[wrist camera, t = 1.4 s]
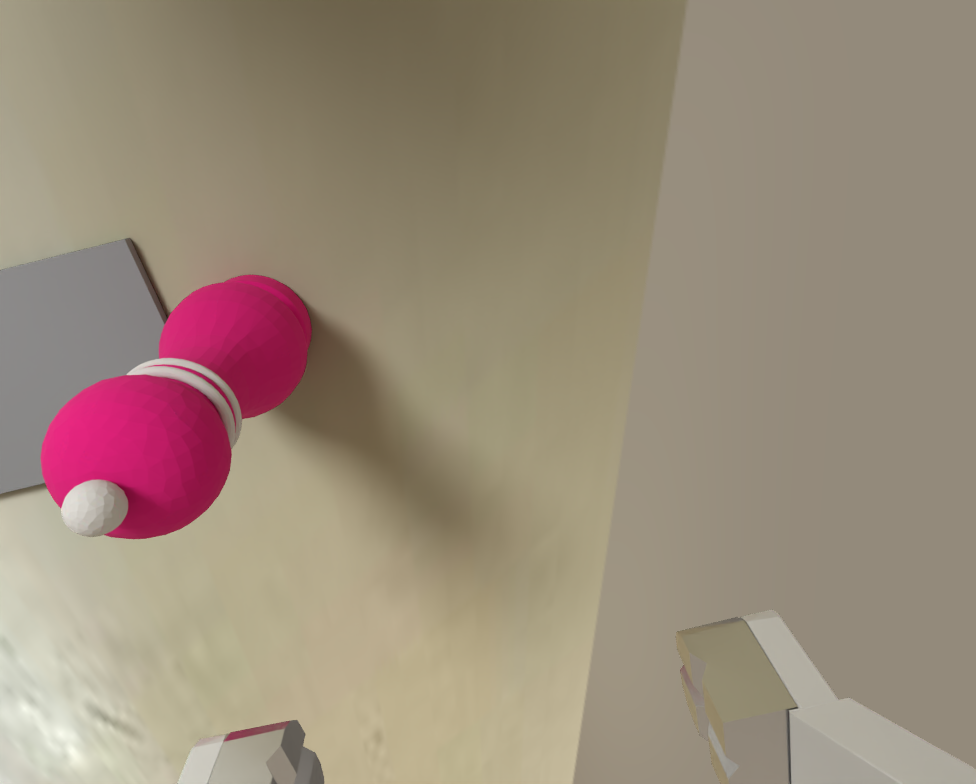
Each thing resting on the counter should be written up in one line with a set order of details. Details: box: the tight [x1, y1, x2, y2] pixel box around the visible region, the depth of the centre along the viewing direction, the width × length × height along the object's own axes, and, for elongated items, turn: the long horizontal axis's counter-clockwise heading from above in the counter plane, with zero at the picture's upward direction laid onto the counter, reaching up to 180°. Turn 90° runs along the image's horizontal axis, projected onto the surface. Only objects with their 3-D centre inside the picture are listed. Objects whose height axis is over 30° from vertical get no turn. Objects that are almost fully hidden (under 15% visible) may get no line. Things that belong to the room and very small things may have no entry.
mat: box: [0, 238, 167, 494], centre depth 37 cm, size 22×13×1 cm, turn 103°
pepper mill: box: [40, 275, 312, 539], centre depth 27 cm, size 7×7×20 cm
